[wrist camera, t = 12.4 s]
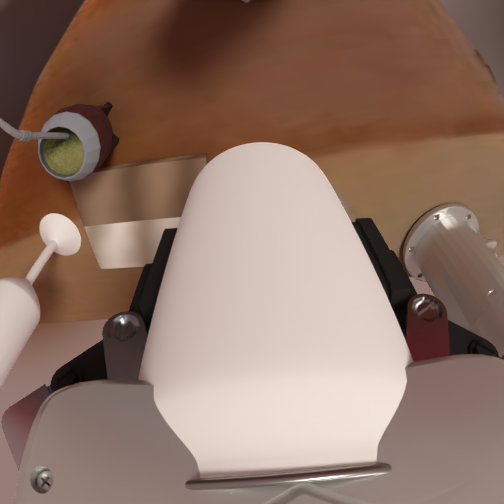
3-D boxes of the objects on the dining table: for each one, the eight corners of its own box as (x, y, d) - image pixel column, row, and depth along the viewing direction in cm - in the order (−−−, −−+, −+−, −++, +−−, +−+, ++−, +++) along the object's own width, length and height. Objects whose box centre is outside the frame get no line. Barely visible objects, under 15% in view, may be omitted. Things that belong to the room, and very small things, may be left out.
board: (206, 153, 32) (205, 157, 31) (220, 256, 40) (220, 262, 39) (72, 173, 33) (68, 177, 32) (103, 263, 40) (100, 269, 39)
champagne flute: (82, 259, 40) (12, 417, 21) (42, 250, 39) (-38, 393, 20) (80, 218, 36) (-15, 383, 17) (36, 209, 35) (-66, 355, 16)
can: (193, 264, 16) (159, 518, 7) (184, 138, 13) (51, 449, 3) (320, 265, 17) (378, 508, 7) (340, 143, 13) (516, 418, 3)
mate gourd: (106, 168, 33) (41, 248, 21) (53, 132, 29) (-31, 195, 17) (140, 114, 29) (74, 172, 17) (83, 75, 26) (-9, 112, 14)
